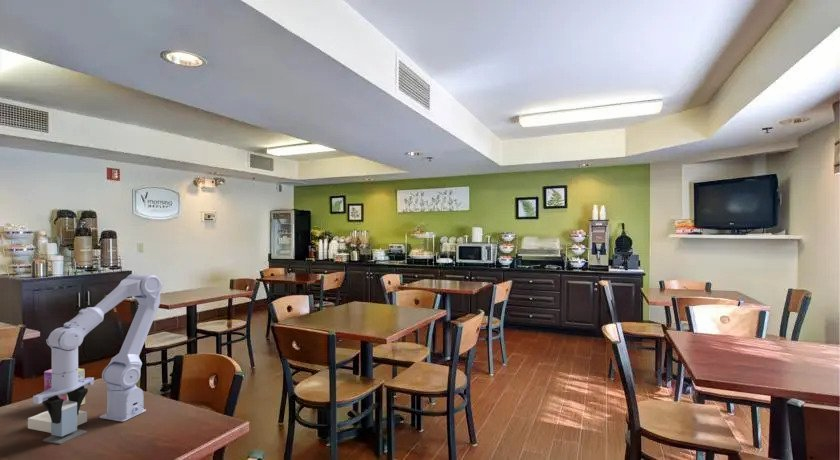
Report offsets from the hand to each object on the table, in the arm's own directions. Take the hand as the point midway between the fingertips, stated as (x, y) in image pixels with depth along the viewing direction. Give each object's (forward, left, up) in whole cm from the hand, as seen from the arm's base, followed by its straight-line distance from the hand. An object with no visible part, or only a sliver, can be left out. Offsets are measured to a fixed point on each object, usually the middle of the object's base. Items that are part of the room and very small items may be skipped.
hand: (65, 419), depth 119 cm
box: (+22, -15, -5) cm, 27 cm away
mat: (0, 0, -5) cm, 5 cm away
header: (+9, -5, -5) cm, 12 cm away
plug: (0, 0, -4) cm, 4 cm away
